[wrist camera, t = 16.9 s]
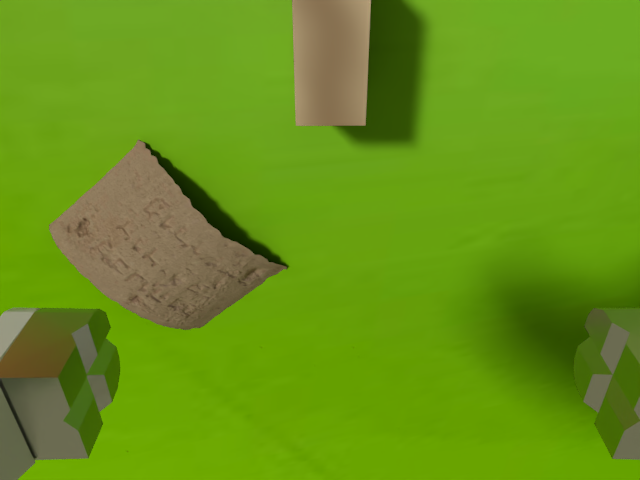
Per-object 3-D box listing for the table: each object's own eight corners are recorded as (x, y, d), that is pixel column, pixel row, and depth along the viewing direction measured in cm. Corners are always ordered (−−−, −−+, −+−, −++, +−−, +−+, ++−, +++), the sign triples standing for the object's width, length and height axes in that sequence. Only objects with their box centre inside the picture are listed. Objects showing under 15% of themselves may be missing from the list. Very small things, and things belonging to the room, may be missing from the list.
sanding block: (364, -41, 28) (372, -30, 24) (360, 94, 32) (365, 125, 27) (296, -41, 28) (291, -29, 24) (299, 94, 32) (295, 125, 27)
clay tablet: (295, 264, 39) (293, 287, 36) (202, 336, 42) (195, 361, 40) (129, 120, 33) (115, 137, 31) (39, 218, 37) (20, 239, 35)
